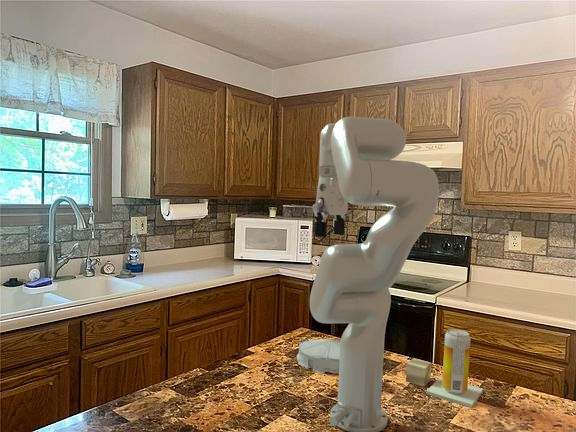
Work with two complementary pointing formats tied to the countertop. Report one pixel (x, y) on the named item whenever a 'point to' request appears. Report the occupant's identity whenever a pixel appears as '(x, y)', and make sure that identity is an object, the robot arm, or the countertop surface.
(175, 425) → the countertop surface
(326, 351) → the food container
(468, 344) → the beer can
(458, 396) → the sage mat
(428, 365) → the maple block
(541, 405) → the countertop surface
